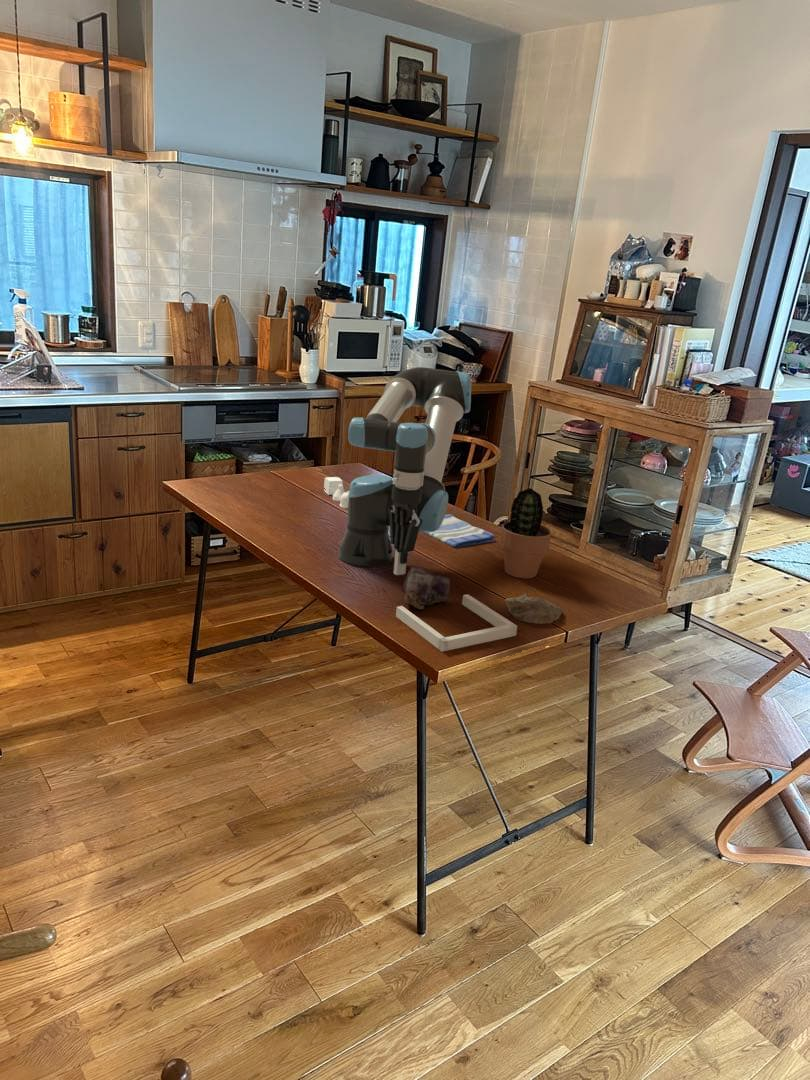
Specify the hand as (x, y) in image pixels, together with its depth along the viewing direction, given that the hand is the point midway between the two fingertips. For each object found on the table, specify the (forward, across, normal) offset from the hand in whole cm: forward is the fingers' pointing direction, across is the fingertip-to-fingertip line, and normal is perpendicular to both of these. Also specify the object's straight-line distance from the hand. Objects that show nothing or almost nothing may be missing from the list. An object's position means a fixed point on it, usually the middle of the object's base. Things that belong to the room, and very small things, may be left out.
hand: (399, 573), depth 211 cm
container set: (+4, -73, +21) cm, 76 cm away
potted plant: (+4, +4, +38) cm, 38 cm away
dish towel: (+4, -31, +39) cm, 50 cm away
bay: (+4, +25, 0) cm, 25 cm away
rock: (+4, +11, 0) cm, 12 cm away
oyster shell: (+4, +27, +24) cm, 36 cm away
